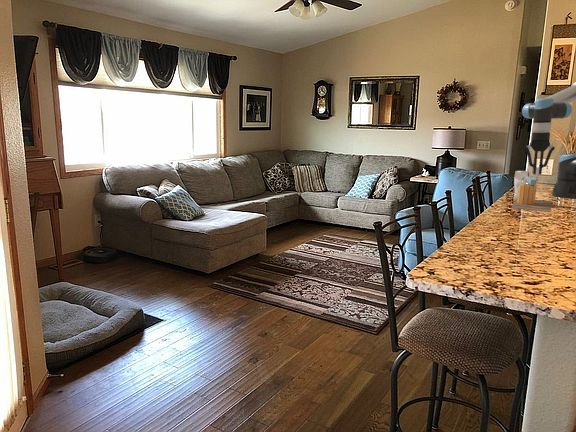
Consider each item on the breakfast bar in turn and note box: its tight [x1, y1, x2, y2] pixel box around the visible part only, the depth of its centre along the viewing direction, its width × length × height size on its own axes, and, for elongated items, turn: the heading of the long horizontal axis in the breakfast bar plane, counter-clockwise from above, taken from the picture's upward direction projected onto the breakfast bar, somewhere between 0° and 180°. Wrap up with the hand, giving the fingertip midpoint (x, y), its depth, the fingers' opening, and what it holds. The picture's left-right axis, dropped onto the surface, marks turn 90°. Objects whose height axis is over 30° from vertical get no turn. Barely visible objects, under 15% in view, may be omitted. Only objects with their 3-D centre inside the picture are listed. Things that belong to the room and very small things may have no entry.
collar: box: [517, 184, 537, 205], centre depth 223 cm, size 8×8×9 cm
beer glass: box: [513, 170, 530, 200], centre depth 240 cm, size 7×7×15 cm
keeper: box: [525, 175, 537, 185], centre depth 224 cm, size 14×3×2 cm, turn 161°
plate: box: [510, 199, 553, 213], centre depth 220 cm, size 30×16×2 cm, turn 149°
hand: (536, 181), depth 221 cm, fingers closed
